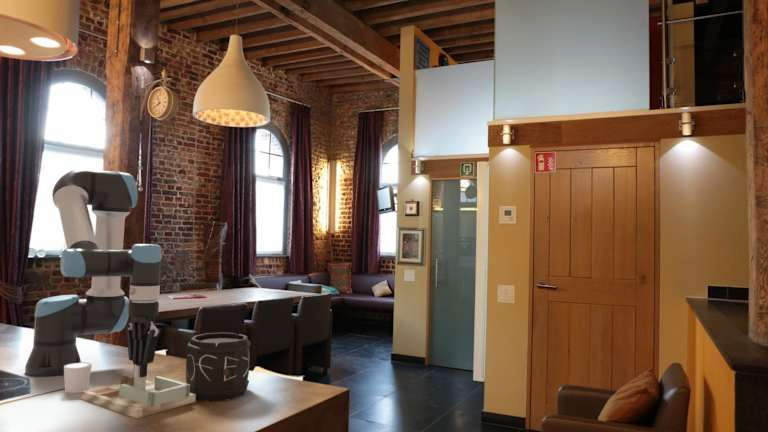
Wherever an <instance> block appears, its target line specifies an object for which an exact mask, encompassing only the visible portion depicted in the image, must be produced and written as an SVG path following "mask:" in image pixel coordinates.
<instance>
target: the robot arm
mask: <svg viewBox="0 0 768 432" xmlns="http://www.w3.org/2000/svg"><path fill="white" fill-rule="evenodd" d="M138 194H139V193H138V185H137V183H136V179H135V178H134V176H133V175H132V174H131V173H128V172H122V171H114V170H113V171H111V170H99V169H89V168H78V169H73V170H70V171H68V172H67V173H65V174H64V175H62V176H61V177H60V178H59V179H58V180H57V182H56V183H55V184H54V186H53V189H52V201H53V204H54V207H56V209H58V212H59V217H60V221H61V226H62V230H63V231H62V232H63V236H64V240H65V241H64V242H65V245H66V249H63V250H62V252H61V254H60V260H59V261H60V263H59V264H60V273H61V275H62V276H64V277H66V278H68V277H69V278H91V288H89V290H87V291H86V292H85V298H80V297H79V295H77V294H64V295H63V294H62V295H56V296H49V297H46V298H43V299H40V300H39V301H38V302H37V303H36V304H35V311H34V312H35V313H34V329H33V330H34V331H33V346H32V349H31V351H30V354H29V357H28V358H27V362H26V363H25V368H24V369H25V372H24V373H25V374H26V375H29V376H36V377H50V376H51V377H52V376H59V375H64V366H65V365H67V364H72V363H82V359H81V357H80V353H79V350H78V348H77V336H83V335H98V334H106V335H107V334H110V333H118V332H121V331H122V330H124V329H125V332H126V342H127V352H128V353H127V354H128V360H129V361H132V364H133V372H134V385H133V387H136V388H140V389H143V388H146V380H147V376H148V365H149V364H150V363H151V364H152V363H154V359H155V355H156V350H157V345H158V341H159V336H160V334H161V333H162V329H161V328H157V326H156V319H155V317H156V316H158V315H159V312H160V311H159V308H160V302H159V301H158V300H159V299H160V290H161V272H162V271H161V268H162V259H163V256H162V247H161V245H159V244H154V243H153V244H152V243H135V244H132V247H131V248H129V249H123V248H124V237H125V236H124V235H125V223H126V222H125V220H126V217H127V216H129V215H130V214H131V209H134V208H136V207H137V205H138V204H137V203H138ZM88 206H91V212H92V213H93V214H94V215H95V218H96V220H95V231H94V227H93V223H92V219H91V215H90V211H89V209H88V208H89V207H88ZM122 277H129V278H130V279H129V298H128V297H127V296H125V294H126V293H125V292H124V291H123V289H121V280H122V279H121V278H122ZM129 317H131V320H130V323H128V320H129Z"/></svg>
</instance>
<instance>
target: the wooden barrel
mask: <svg viewBox="0 0 768 432" xmlns="http://www.w3.org/2000/svg"><path fill="white" fill-rule="evenodd" d="M250 347H251V341H250V340H249V338H248V336H247V335H245V334H241V333H238V334H237V332H236V333H235V332H234V333H233V332H207V333H202V334H197V335H193V337H192V338H191V339H190V341H189V342H188V344H186V348H185V349H187V355H186V362H185V383H186V384H190V393H193V394H196V400H195V401H205V400H209V401H208V402H218V401H219V400H220V401H228V400H227V399H230V400H233V398H234V399H236V398H235V397H237V398H239V397H242V396H244V395H245V392H246V390H248V387H249V382H250V380H248V379H249V373H250V357H251V354H250V353H251V352H250ZM241 395H242V396H241ZM238 396H239V397H238ZM220 401H219V402H220Z"/></svg>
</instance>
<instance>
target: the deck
mask: <svg viewBox="0 0 768 432" xmlns="http://www.w3.org/2000/svg"><path fill="white" fill-rule="evenodd" d="M120 383H121V382H118V383H117V382H116V383H113V384H108V385H104V386H100V387H95V388H89V389H88V390H85V391H82V392H81V396H80V397H81V398H80V399H81V400H84V401H87V402H88V403H89V402H90V403H93V404H95V405H98V406H100V407H104V408H106V409H109V410H112V411H115V412H117V413H121V414H124V415H126V416H129V417H132V418H135V419H140V418H144V417H147V416H148V417H149V416H150V415H155V414H157V413H160V412H165V411H168V410H172V409H175V408H179V407H182V406H185V405H188V404H193V403H195V402H196V401H197V400H196V394H193V393H190V396H188V397H184V398H180V399H177V400H173V401H169V402H166V403H162V404H158V405H155V406H151V407H150V406H147V405H144V404H141V403H138V402H135V401H132V400H129V399H126V398H123V397H120V396H119V389H120ZM154 385H155V381H150V380H147V379H146V388H145V389H143V390H146V391H150V392H156V391H160V389H157V388H154Z"/></svg>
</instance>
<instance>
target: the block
mask: <svg viewBox="0 0 768 432" xmlns="http://www.w3.org/2000/svg"><path fill="white" fill-rule="evenodd" d="M119 383H120V385H121V384H126V385H130V386H133V385H134V371H133V372H127V373H124V374H120V382H119ZM143 389H145V388H143Z"/></svg>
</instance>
